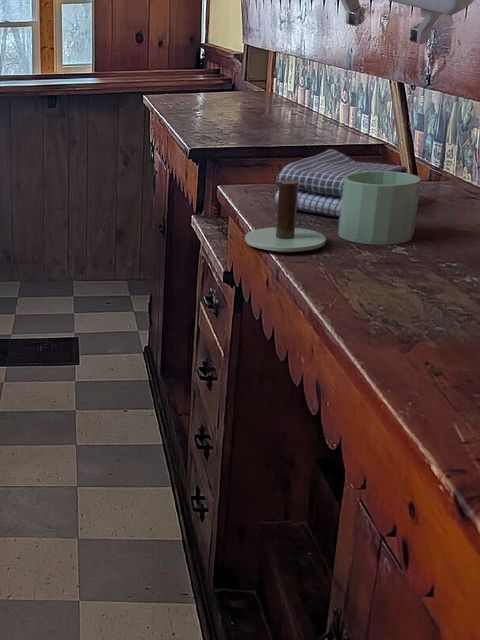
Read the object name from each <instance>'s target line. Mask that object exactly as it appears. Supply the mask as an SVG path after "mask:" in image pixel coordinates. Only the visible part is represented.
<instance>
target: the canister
mask: <svg viewBox="0 0 480 640" xmlns="http://www.w3.org/2000/svg"><path fill="white" fill-rule="evenodd" d="M421 184H422V179H421V177H420V176H419V175H415V174H413V173H408V172H407V173H402V172H392V171H364V172H355V173H350V174H347V175H345V176H343V182H342V192H341V201H340V211H339V217H338V221H337V236H338V237H339V238H341V239H343V240H345V241H348V242H352V243H355V244H356V243H357V244H362V245H373V246H375V245H377V246H388V245H399V244H403V243H404V244H405V243H407V242H410V241H411V240H412V239H413V236H414V235H415V227H416V220H417V211H418V205H419V199H420V198H419V197H420V191H421Z"/></svg>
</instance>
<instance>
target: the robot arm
mask: <svg viewBox="0 0 480 640" xmlns="http://www.w3.org/2000/svg"><path fill="white" fill-rule="evenodd" d="M387 1H389V2H394V3H397V4H401V5H405V6H409V7H413V8H418V9H420V14H419V16H420V17H421V18H423V19H422V21H421V22H419V23H418V24H417V25H413V26H412V27H411V28H410V33H409V34H410V36H409V42H411V43H415V44H419V45H423V44H425V43H427V42H429V40H430V39H431V37H432V29H433V28H432V27H433V26H434V25H435V24H436V22H437V21H438V19H439V18H440V17H441V16H442V15H446V16H454V15H456V14H458V13H459V12H461V11H463V10H464V9H466V8H468V7H470V6H471V4H473V3H474V2H475V0H387ZM340 2H341V5H342V6H343V9H344V11H345V24H347V25H350V26H354V27H358V26H360V25H361V24H364V22H365V20H366V16H365V14H366V11H367V10H366V7H362V6H361V4H360V0H340Z"/></svg>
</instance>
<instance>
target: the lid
mask: <svg viewBox="0 0 480 640" xmlns="http://www.w3.org/2000/svg"><path fill="white" fill-rule="evenodd" d="M298 187H299V182H298V181H296V180H283V181H280V184H279V186H278V190H279V197H278V205H277V211H276V226H275V227H274V226H273V227H272V226H271V227H264V228H258V229H253V230H251V231H248V232H247V233H246V234H245V235H244V242H245V244H247V245H248V246H250V247H253V248H256V249H259V250H260V249H261V250H265V251H269V252H276V253H297V252H298V253H299V252H306V251H312V250H316V249H319V248H322V247H323V246H325V245H326V244H327V243H326V242H327V237H326V236H325V235H324V234H323V233H321V232H319V231H315V230H313V229H307V228H302V227H301V228H300V227H296V224H297V213H298V212H297V211H298V210H297V200H298Z"/></svg>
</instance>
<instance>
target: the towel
mask: <svg viewBox="0 0 480 640" xmlns="http://www.w3.org/2000/svg"><path fill="white" fill-rule="evenodd" d="M364 171H392V172H402V173H408V168H407V167H406V166H404V165H394V164H389V163H388V164H386V163H379V162H378V163H377V162H376V163H374V162H366V161H362V162H360V161H355V160H354V159H353V158H351V157H349V156H348V155H346V154H344V153H343V152H341V151H338V150H337V149H334V148H330V149H327V150H326V151H323V152H322V153H321V152H320V153H318V154H316V155H313V156H308V157H306V158H302V159H300V160H297V161H294V162H293V161H292V162H289V163H288V164H286V165H284V166H283V167H282V168H281V170H280V171H279V173H278V174H277V175H276V177H275V185H276V186H277V187H279V184H280V181H283V180H296V181H298V182H299V187H298V200H297V211H298V212H303V213H310V214H311V213H312V214H319V215H324V216H327V217H330V216H331V217H333V218H339V211H340V201H341V192H342V182H343V176H345V175H347V174H350V173H355V172H364ZM278 197H279V189H278V190H277V191H276V193H275V195H274V198H273V199H274V202H275V204H276V206H278Z"/></svg>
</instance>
